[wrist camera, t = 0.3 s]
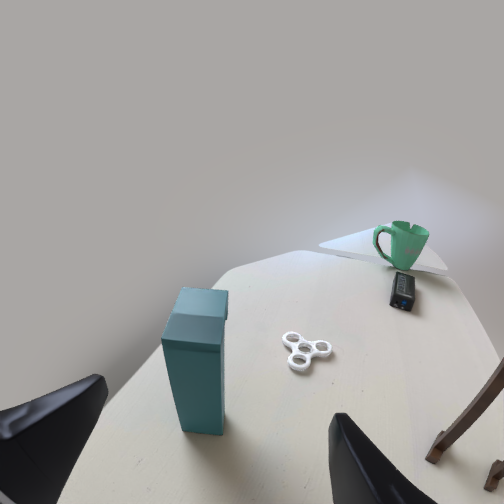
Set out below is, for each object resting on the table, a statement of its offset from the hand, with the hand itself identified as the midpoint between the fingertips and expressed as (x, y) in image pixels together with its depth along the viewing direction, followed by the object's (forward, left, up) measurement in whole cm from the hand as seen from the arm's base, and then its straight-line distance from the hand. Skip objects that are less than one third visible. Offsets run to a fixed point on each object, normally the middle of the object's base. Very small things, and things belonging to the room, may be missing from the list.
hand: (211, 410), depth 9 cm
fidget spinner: (+21, -7, -17) cm, 27 cm away
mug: (+53, -31, -17) cm, 63 cm away
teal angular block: (+10, +4, -16) cm, 20 cm away
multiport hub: (+39, -28, -17) cm, 50 cm away
